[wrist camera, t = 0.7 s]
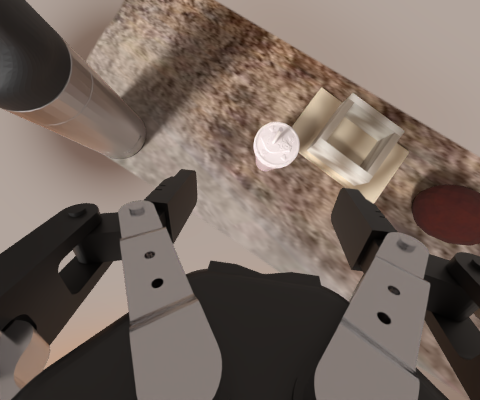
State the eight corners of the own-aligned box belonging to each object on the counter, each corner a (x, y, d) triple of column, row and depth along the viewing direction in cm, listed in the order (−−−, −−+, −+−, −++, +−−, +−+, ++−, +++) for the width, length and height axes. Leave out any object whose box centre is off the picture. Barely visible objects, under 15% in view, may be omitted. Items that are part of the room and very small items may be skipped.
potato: (413, 177, 38) (471, 166, 29) (464, 217, 38) (538, 218, 29) (387, 214, 38) (438, 214, 29) (439, 254, 38) (506, 267, 28)
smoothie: (255, 139, 38) (269, 96, 24) (288, 151, 38) (320, 116, 24) (243, 171, 37) (249, 146, 23) (276, 183, 37) (302, 166, 23)
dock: (281, 140, 38) (289, 128, 33) (318, 91, 39) (331, 72, 34) (368, 204, 38) (390, 203, 33) (403, 154, 39) (430, 144, 33)
